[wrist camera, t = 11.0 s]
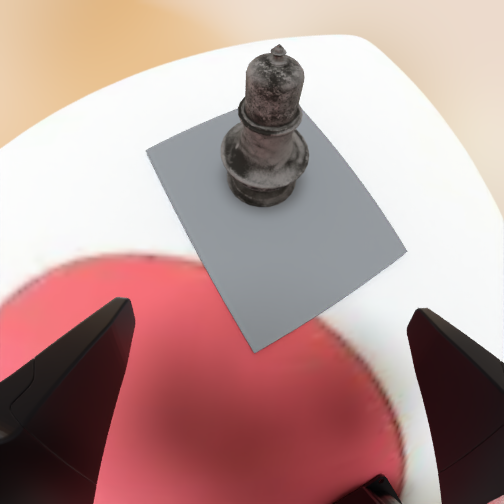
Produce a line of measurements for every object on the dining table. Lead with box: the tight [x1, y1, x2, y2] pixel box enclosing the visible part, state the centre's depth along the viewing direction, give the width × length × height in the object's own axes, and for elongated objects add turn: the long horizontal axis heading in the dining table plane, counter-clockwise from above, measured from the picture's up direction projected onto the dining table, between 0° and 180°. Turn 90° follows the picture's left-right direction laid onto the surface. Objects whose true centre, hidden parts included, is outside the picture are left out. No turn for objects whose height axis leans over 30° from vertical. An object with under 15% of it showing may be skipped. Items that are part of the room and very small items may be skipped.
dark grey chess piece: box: [221, 44, 309, 207], centre depth 16 cm, size 6×6×12 cm
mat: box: [146, 109, 407, 353], centre depth 21 cm, size 18×14×1 cm
